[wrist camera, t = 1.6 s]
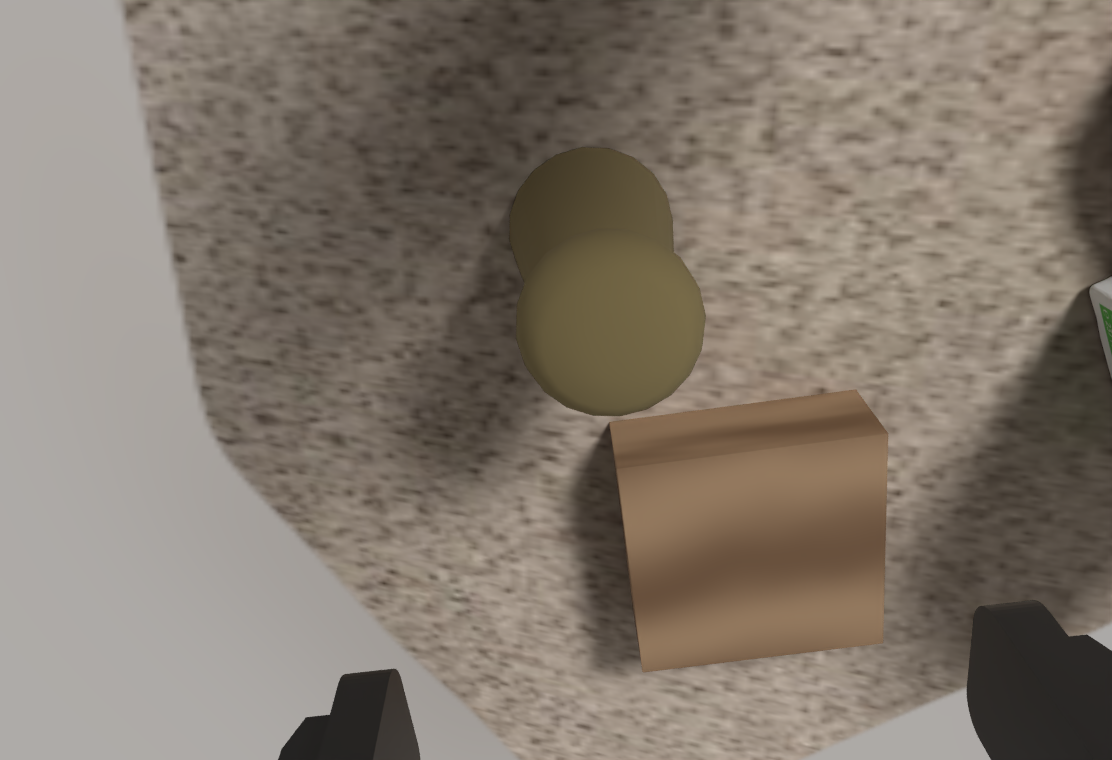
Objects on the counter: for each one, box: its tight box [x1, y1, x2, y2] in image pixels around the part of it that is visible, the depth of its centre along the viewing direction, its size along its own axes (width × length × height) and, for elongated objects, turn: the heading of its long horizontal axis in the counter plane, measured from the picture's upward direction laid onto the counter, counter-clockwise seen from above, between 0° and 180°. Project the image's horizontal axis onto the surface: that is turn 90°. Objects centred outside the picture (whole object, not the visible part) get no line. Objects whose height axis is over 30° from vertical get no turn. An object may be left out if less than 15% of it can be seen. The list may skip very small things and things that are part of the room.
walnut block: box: [609, 390, 888, 672], centre depth 37 cm, size 10×10×4 cm
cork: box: [509, 147, 706, 416], centre depth 28 cm, size 6×6×11 cm
